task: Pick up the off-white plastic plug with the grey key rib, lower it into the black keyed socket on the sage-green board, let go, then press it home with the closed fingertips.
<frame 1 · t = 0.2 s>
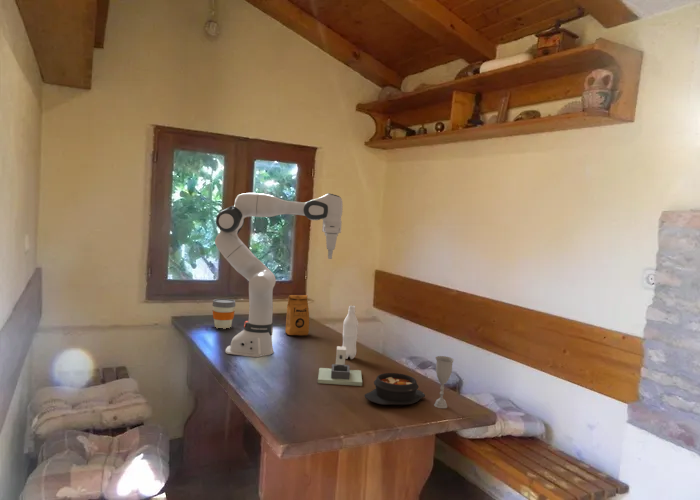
hand: (329, 257, 255), 47 cm above the table, tool pointing down, fingers open, 8 cm apart
socket board: (339, 378, 227), on the table
chalice: (440, 406, 203), on the table
water bottle: (348, 358, 259), on the table
reusable coffee cup: (222, 327, 304), on the table
keyed plug: (340, 367, 242), on the table
coffee package: (296, 334, 299), on the table
casserole: (394, 400, 206), on the table
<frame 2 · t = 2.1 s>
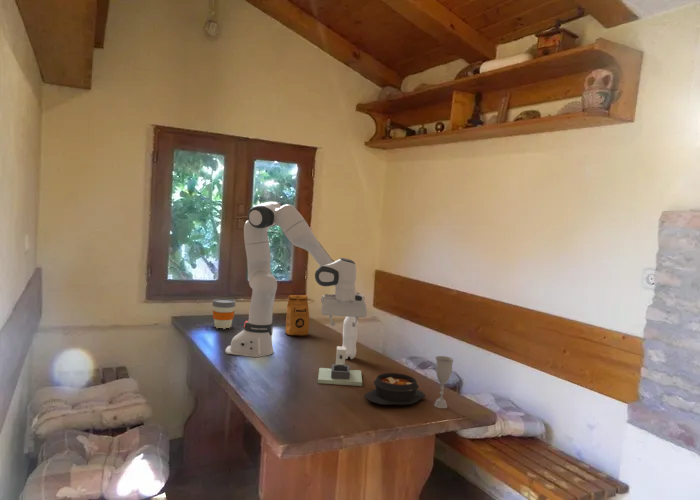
hand: (343, 326, 241), 19 cm above the table, tool pointing down, fingers open, 8 cm apart
nothing on the table moved.
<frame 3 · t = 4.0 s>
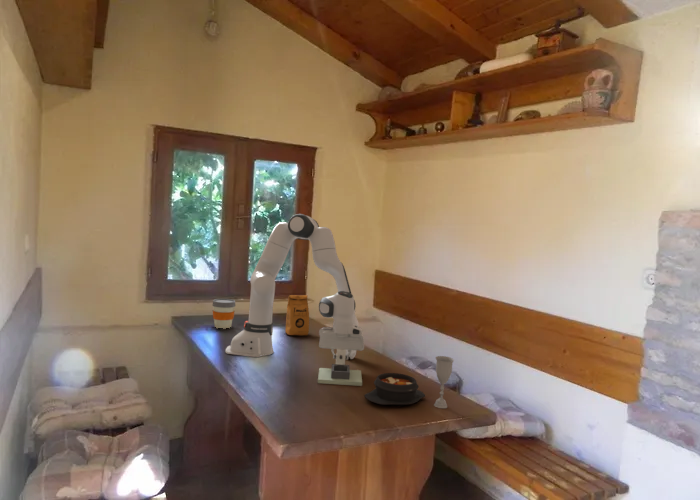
hand: (340, 358, 242), 4 cm above the table, tool pointing down, fingers closed on keyed plug, 4 cm apart
water bottle: (348, 358, 259), on the table, touching arm
keyed plug: (340, 367, 242), on the table, touching gripper
everything else where it was.
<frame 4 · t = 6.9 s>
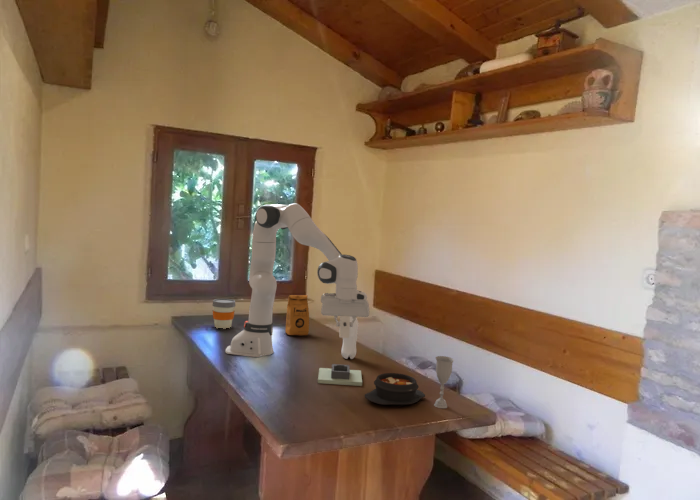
hand: (344, 326, 227), 22 cm above the table, tool pointing down, fingers closed on keyed plug, 4 cm apart
water bottle: (348, 358, 259), on the table
keyed plug: (344, 336, 228), point 18 cm above the table, touching gripper
everything else where it was.
when the fingers open (7 cm above the table, at t = 9.7 s): keyed plug stays where it is, resting on socket board.
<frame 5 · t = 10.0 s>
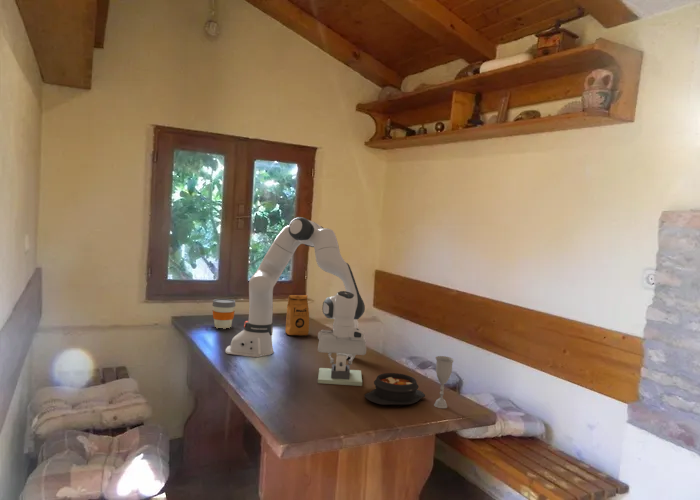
hand: (340, 363, 226), 7 cm above the table, tool pointing down, fingers open, 6 cm apart
keyed plug: (340, 375, 226), point 1 cm above the table, touching socket board
everything else where it was.
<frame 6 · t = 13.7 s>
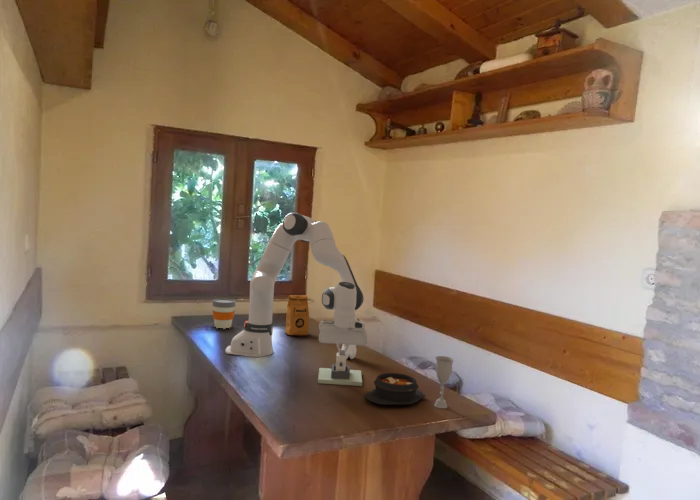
hand: (341, 354, 226), 11 cm above the table, tool pointing down, fingers closed, pressing on keyed plug
keyed plug: (340, 375, 226), point 2 cm above the table, touching gripper, socket board
everything else where it was.
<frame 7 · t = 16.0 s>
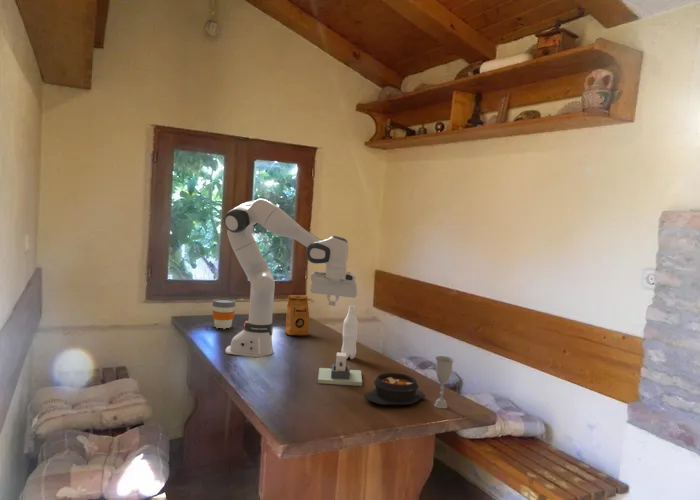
hand: (331, 305, 235), 29 cm above the table, tool pointing down, fingers closed
keyed plug: (340, 375, 226), point 1 cm above the table, touching socket board
everything else where it was.
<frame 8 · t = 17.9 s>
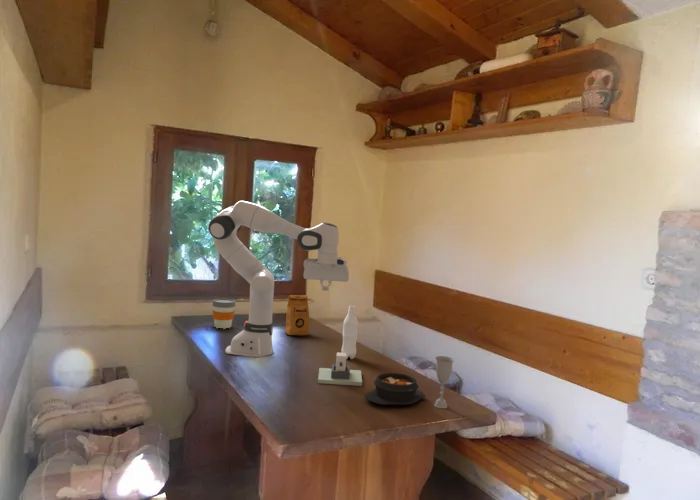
hand: (325, 290, 241), 34 cm above the table, tool pointing down, fingers closed
nothing on the table moved.
at the end: keyed plug 0.1 cm from the target spot on the socket board, point 1.5 cm above the socket board's base; keyed plug tilted 0°; the gripper is holding nothing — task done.
